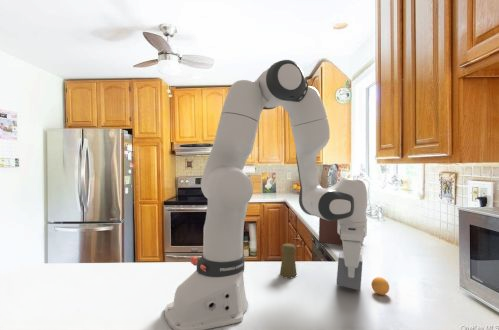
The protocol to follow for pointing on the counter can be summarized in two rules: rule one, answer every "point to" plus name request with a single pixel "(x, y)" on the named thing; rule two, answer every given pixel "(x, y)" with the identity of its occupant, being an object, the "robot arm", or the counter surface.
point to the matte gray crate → (343, 274)
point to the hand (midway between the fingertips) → (351, 271)
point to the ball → (380, 285)
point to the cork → (288, 261)
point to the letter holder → (329, 232)
